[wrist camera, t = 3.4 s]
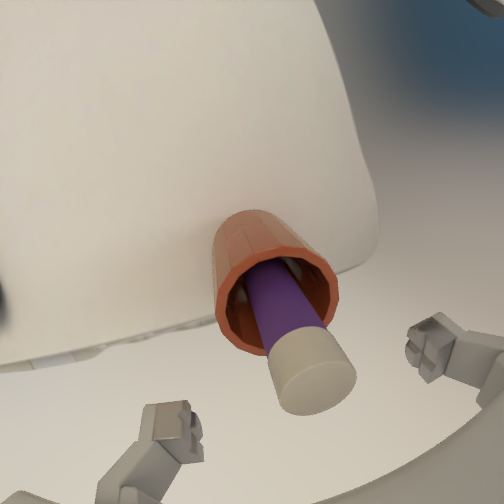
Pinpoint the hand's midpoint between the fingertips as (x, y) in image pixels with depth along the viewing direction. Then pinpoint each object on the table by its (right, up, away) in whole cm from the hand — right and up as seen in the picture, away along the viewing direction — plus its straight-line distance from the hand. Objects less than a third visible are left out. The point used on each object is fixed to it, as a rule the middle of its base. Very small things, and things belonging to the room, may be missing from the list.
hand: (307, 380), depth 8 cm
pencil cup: (-2, +5, +13) cm, 14 cm away
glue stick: (-2, +4, +13) cm, 13 cm away
